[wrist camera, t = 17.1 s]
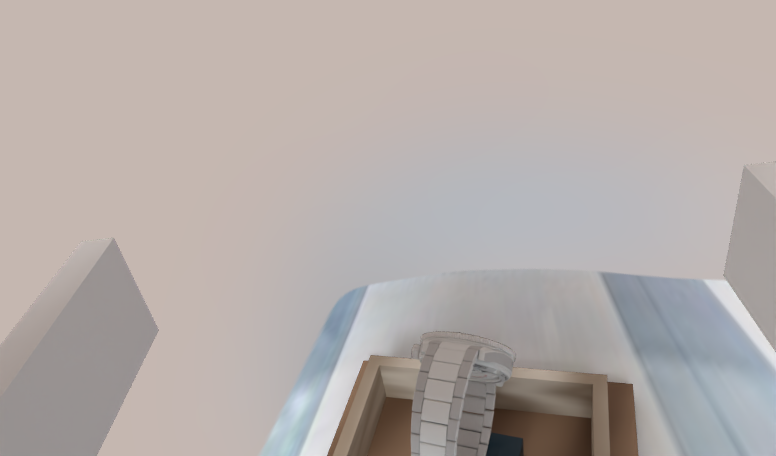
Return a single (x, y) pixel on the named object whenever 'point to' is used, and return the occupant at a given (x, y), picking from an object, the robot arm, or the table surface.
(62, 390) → the robot arm
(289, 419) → the table surface
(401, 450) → the board
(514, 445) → the watch
